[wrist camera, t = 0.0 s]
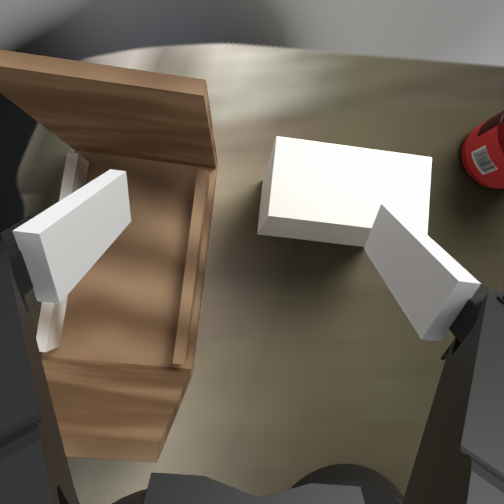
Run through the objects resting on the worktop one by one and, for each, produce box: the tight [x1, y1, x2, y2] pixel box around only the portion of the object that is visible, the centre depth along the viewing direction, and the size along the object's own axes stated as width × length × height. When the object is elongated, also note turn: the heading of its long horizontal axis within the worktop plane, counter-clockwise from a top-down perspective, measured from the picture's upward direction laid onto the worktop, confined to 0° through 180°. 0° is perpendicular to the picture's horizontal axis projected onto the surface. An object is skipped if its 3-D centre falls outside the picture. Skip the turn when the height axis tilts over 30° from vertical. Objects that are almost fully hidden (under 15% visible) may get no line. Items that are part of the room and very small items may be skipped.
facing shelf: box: [0, 50, 218, 463], centre depth 23 cm, size 22×14×14 cm, turn 174°
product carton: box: [257, 136, 432, 247], centre depth 26 cm, size 12×6×10 cm, turn 84°
